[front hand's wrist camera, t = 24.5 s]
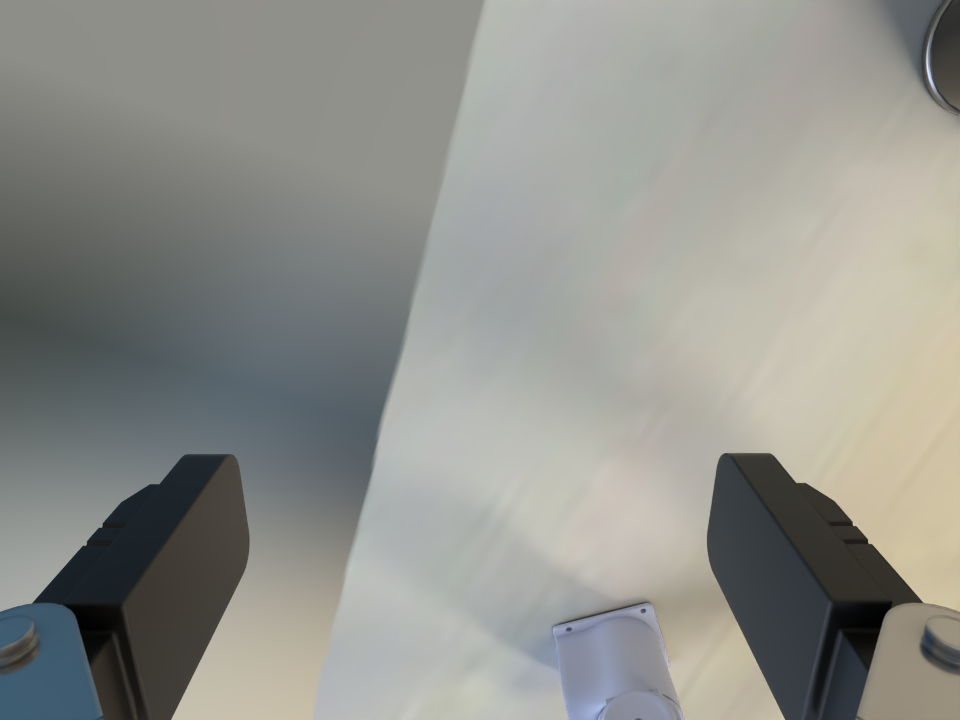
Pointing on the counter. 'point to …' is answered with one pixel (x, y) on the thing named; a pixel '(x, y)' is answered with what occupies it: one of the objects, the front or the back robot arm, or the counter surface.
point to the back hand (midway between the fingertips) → (897, 651)
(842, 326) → the counter surface
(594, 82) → the counter surface
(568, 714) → the back robot arm
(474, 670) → the counter surface
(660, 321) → the counter surface
